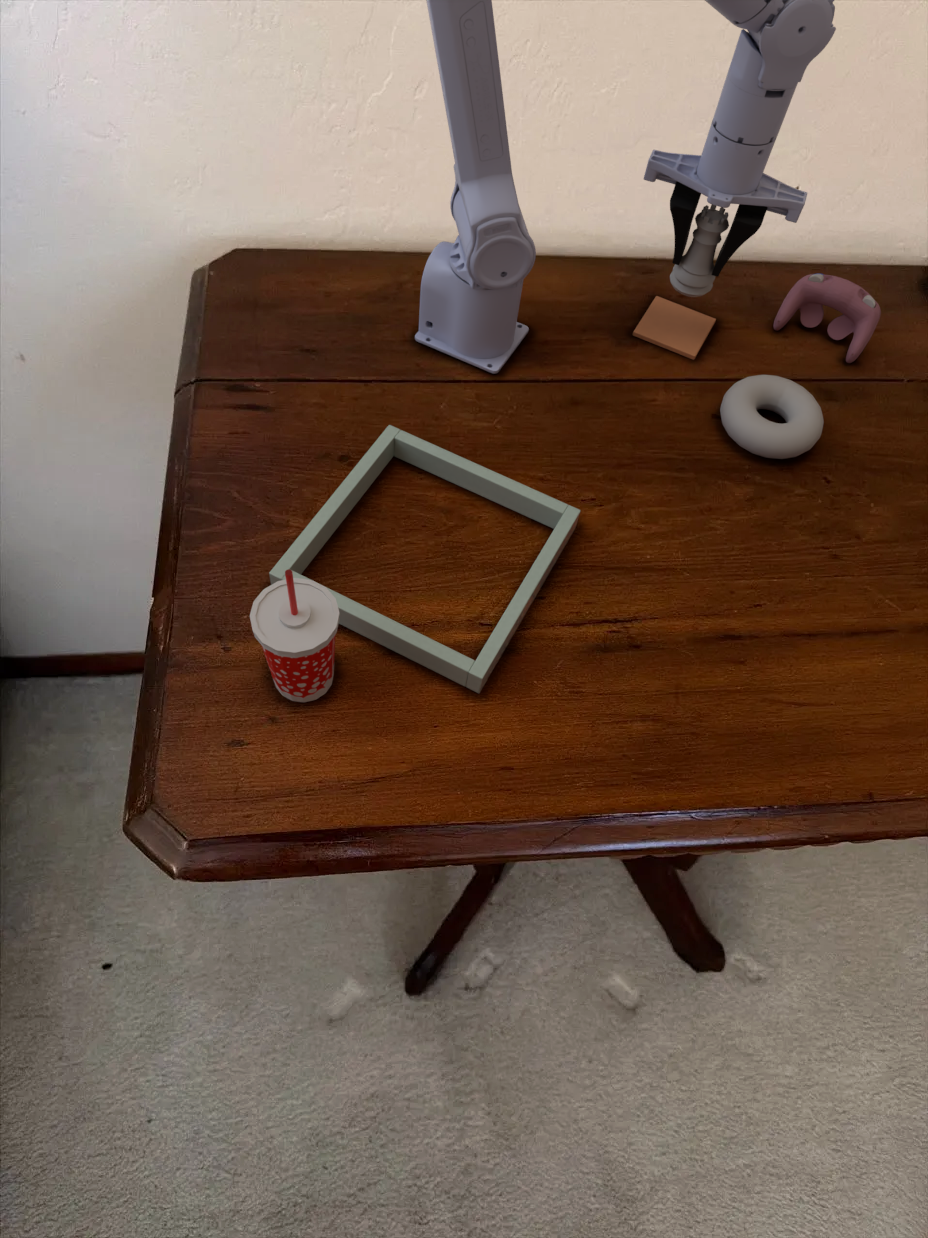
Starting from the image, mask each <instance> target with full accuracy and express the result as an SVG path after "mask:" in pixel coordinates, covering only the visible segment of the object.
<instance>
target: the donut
mask: <svg viewBox="0 0 928 1238" xmlns="http://www.w3.org/2000/svg"><path fill="white" fill-rule="evenodd" d="M758 410H767V411H769V412H773V413H775V414H777V415H779V416H780V417H781V418H782V419H783V420H784V421H785V422H784V423H780V422H779V423H778V422H775V421H771V420H769V419H767V418H765V417H763V416H762V415H761V413H759V412H758ZM719 412H720V413H719V414H720V418H721V425H722V426H723V428H724V430H725V432H726V433H727V436H729V437H730V438H731V439H732V440H733V441H734V442H735V443H736V444H737V445H738V446H739V447H740V448H742V449H745V450H746V451H748V452H749V453H751V454H754V455H756V456H760V457H763V458H767V459H777V460H785V459H791V458H797V457H799V456H800V455H802V454H804V453H806V452H808V451H810V450H811V449H812V448H813V447H814V446H815V445H816V443H817V442H818V441H819V439H820V438H821V436H822V434H823V429H824V423H825V421H824V415H823V411H822V407H821V406H820V404H819V402H818V401H817V400H816V398H815V397H814V395H813V394H812V393H811V392H809V390H808V389H806V388H805V387H804V386H802V385H800V384H799V383H797V382H795V381H793V380H791V379H788V378H786V377H782V376H779V375H773V374H757V375H749V376H747V377H744V378H742V379H739V380H738V381H736V382H735V383H733V384H732V386H730V387H729V389H728V390H727V391H726V392H725V393H724V395H723V398H722V401H721V404H720V407H719Z"/></svg>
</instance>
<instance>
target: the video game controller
mask: <svg viewBox="0 0 928 1238" xmlns="http://www.w3.org/2000/svg"><path fill="white" fill-rule="evenodd" d="M824 306H826V307H829V308H831V309H833V310H835V311H837V312H839V313H841V315H839V316H837V317H834V318H833V320H831V321H830V322H829V324H828V326H827V329H826V330H827V335H828V336H829V337H830V338H831V339H832V340H835V341H840V340H843V339H845V338H846V337H848V336H849V335H851V334H852V333H853V336H852V339H851V342H850V344H849V346H848V348H847V349H848V350H847V353H846V356H845V362H846V363H847V364H851V363H853V362H855V361H856V360H857V359H858V358H859V356H860V355H861V354H862V352H863V351H864V349H865V348H866V346H867V345H868V343H869V342H870V340H871V338H872V336H873V334H874V332H875V330H876V328H877V325H878V324H879V321H880V319H881V314H882V311H881V307H880V305H879V303H878V302H877V301H876V299H874V297H873V296H872V295H871V294H870V293H869V292H868V291H867V290H865V289H864V288H863V287H862V286H860V285H858V284H856V283H855V282H853V281H851V280H849V279H846V278H843V277H840V276H836V275H830V274H824V273H821V272H817V273H810V274H807V275H804V276H802V277H801V278H800V279H798V280H797V281H796V282H795V283H794V284H793V285H792V287H791V288H790V290H789V291H788V293H787V294H786V296H785V297H784V299H783V301H782V303H781V304H780V307H779V309H778V311H777V313H776V315H775V318H774V319H773V330H775V331H780V330H781V329H782V328H784V327H785V326H786V325H787V324H788V322H789V321H790V320H791V319H792V318H793V317H794V315H795V314H796V313H797V311H798V310H799V311H800V312H799V313H800V323H801V325H802V326H804V327H806V328H815V327H817V326H818V325H820V324H821V323H822V321H823V319H824V316H825V315H824V314H825V311H824Z"/></svg>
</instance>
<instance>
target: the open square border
mask: <svg viewBox="0 0 928 1238" xmlns="http://www.w3.org/2000/svg"><path fill="white" fill-rule="evenodd" d="M393 457H394V458H397V459H399V460H401V461H403V462H406V463H408V464H410V465H412V466H414V467H417V468H418V469H421V470H424V471H425V472H427V473H429V474H432V475H434V476H437V477H438V478H441V479H443V480H445V481H447V482H450V483H452V484H454V485H456V486H458V487H461V488H463V489H465V490H467V491H469V492H471V493H474V494H476V495H479V496H481V497H483V498H485V499H487V500H489V501H491V502H494V503H495V504H498V505H500V506H503V507H505V508H507V509H509V510H511V511H514V512H516V513H518V514H520V515H522V516H525V517H527V518H529V519H531V520H533V521H536V522H537V523H540V524H542V525H545V527H546V526H547V527H549V528H551V529H553V530H552V532H551V534H550V535H549V537H548V539H547V540H546V542H545V543H544V545H543V547H542V548H541V550H540V552H539V553H538V555H537V557H536V558H535V560H534V562H533V563H532V565H531V567H530V568H529V570H528V572H527V573H526V575H525V577H524V578H523V580H522V582H521V583H520V585H519V587H518V589H517V590H516V591H515V594H514V595H513V597H512V598H511V601H510V602H509V603H508V605H507V607H506V609H505V610H504V612H503V613H502V615H501V617H500V619H499V620H498V622H497V624H496V626H495V627H494V629H493V631H492V632H491V634H490V636H489V637H488V638H487V640H486V642H485V643H484V645H483V647H482V649H481V651H480V652H479V654H478V655H477V657H476V659H475V660H474V659H473V658H471V657H469V656H467V655H464V654H463V653H460V652H459V651H457V650H455V649H453V648H450V647H449V646H446V645H444V644H442V643H440V642H438V641H436V640H434V639H433V638H431V637H429V636H427V635H424V634H422V633H421V632H418V631H416V630H414V629H412V628H410V627H409V626H406V625H404V624H402V623H400V622H398V621H395V620H394V619H392V618H390V617H388V616H386V615H384V614H381V613H379V612H378V611H376V610H374V609H372V608H369V607H368V606H366V605H363V604H361V603H359V602H358V601H355V600H353V599H351V598H349V597H347V596H345V595H343V594H341V593H339V592H337V591H335V590H333V589H330V588H329V587H328V586H325V587H326V588H327V589H328V590H329V591H330V592H331V594H332V595H333V596H334V597H335V598H336V601H337V605H338V609H339V612H340V615H339V623H338V625H341V626H343V627H345V628H347V629H348V630H351V631H352V632H354V633H357V634H359V635H360V636H362V637H365V638H366V639H369V640H371V641H373V642H375V643H376V644H379V645H381V646H383V647H385V648H387V649H389V650H391V651H392V652H395V653H397V654H399V655H401V656H403V657H405V658H407V659H409V660H410V661H413V662H415V663H417V664H419V665H421V666H423V667H425V668H426V669H428V670H431V671H433V672H435V673H437V674H439V675H440V676H443V677H445V678H447V679H449V680H451V681H452V682H454V683H456V684H458V685H461V686H463V687H466V688H467V689H468V690H470V691H473V692H475V693H477V694H480V693H481V691H482V690H483V688H484V686H485V684H486V683H487V681H488V680H489V678H490V677H491V674H492V673H493V670H494V669H495V668H496V666H497V664H498V662H499V661H500V659H501V657H502V656H503V654H504V652H505V650H506V648H507V647H508V645H509V644H510V642H511V640H512V638H513V637H514V635H515V633H516V632H517V630H518V628H519V626H520V624H521V623H522V621H523V620H524V617H525V616H526V614H527V613H528V611H529V609H530V607H531V605H532V604H533V602H534V600H535V598H536V597H537V595H538V593H539V591H540V590H541V588H542V586H543V585H544V583H545V581H546V579H547V578H548V576H549V575H550V573H551V571H552V569H553V568H554V566H555V564H556V562H557V561H558V559H559V557H560V555H561V554H562V552H563V550H564V549H565V547H566V545H567V544H568V542H569V540H570V539H571V537H572V535H573V533H574V531H575V530H576V527H577V524H578V521H579V518H580V514H581V512H582V511H581V509H580V508H577V507H575V506H572V505H571V504H568V503H566V502H564V501H561V500H558V499H557V498H554V497H552V496H550V495H548V494H546V493H543V492H541V491H540V490H537V489H534V488H533V487H530V486H528V485H525V484H523V483H521V482H519V481H517V480H514V479H512V478H510V477H507V476H505V475H503V474H501V473H498V472H497V471H494V470H492V469H489V468H488V467H485V466H483V465H481V464H479V463H476V462H474V461H473V460H472V461H471V460H470V459H467V458H465V457H463V456H460V455H459V454H456V453H454V452H452V451H449V450H447V449H445V448H442V447H441V446H438V445H436V444H433V443H432V442H429V441H427V440H424V439H423V438H420V437H418V436H417V435H414V434H411V433H409V432H407V431H405V430H402V429H401V428H398V427H396V426H394V425H392V424H388V426H386V427H385V429H384V430H383V431H382V433H381V434H380V435H379V436H378V438H377V439H376V440H375V441H374V443H372V445H371V446H370V448H369V449H368V450H367V451H366V452H365V453H364V455H363V456H362V457H361V458H360V459H359V461H358V462H357V463H356V465H355V466H354V467H353V468H352V470H351V471H350V472H349V473H348V475H347V476H346V477H345V479H344V480H343V481H342V482H341V483H340V484H339V486H338V487H337V488H336V489H335V491H334V492H333V493H332V494H331V495H330V497H329V498H328V499H327V501H325V503H324V505H322V506H321V508H320V509H319V510H318V512H317V513H316V514H315V515H314V516H313V518H312V519H311V520H310V522H308V524H307V525H306V526H305V528H304V529H303V530H302V531H301V533H300V534H298V536H297V538H296V539H295V540H294V541H293V542H292V544H290V546H289V548H287V551H285V553H284V554H283V555H282V556H281V558H280V559H279V560H278V561H277V562H276V563H275V565H274V566H273V567H272V568H271V570H270V571H269V572H268V575H269V576H268V577H269V581H270V585H272V584H274V583H276V582H277V581H281V580H286V576H285V571H286V570H288V569H289V570H292V573H293V578H300V579H308V580H312V579H311V578H308V577H307V576H304V575H302V574H303V573H304V571H305V570H306V569H307V568H308V566H309V565H310V564H311V562H312V561H313V560H314V558H315V557H316V556H317V555H318V553H319V552H320V551H321V550H322V548H323V547H324V545H325V544H326V543H328V541H329V539H331V537H332V535H333V534H334V533H335V532H336V530H338V528H339V527H340V526H341V524H342V523H343V521H344V520H345V519H346V518H347V516H348V515H349V514H350V513H351V511H352V510H353V509H354V507H355V506H356V505H357V504H358V502H359V501H360V500H361V498H362V497H363V496H364V494H365V493H366V492H367V491H368V490H369V488H370V487H371V485H372V484H373V483H374V482H375V480H376V479H377V478H378V477H379V476H380V474H381V473H382V471H383V470H384V469H385V468H386V466H387V465H388V464H389V463H390V462H391V460H392V459H393Z"/></svg>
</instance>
